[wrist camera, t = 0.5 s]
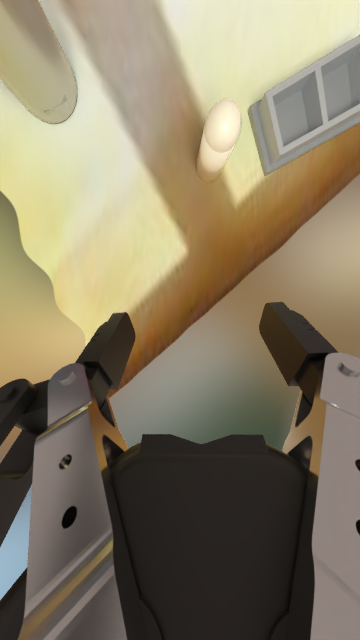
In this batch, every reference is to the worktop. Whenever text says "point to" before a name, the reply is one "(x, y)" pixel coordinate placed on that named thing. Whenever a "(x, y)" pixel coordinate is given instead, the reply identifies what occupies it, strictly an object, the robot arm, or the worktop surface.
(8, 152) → the worktop surface
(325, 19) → the worktop surface
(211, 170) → the cream capsule shape
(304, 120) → the grey divided tray
